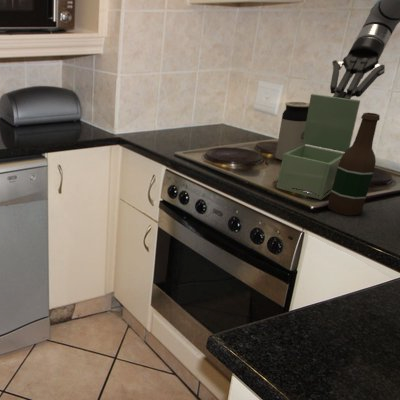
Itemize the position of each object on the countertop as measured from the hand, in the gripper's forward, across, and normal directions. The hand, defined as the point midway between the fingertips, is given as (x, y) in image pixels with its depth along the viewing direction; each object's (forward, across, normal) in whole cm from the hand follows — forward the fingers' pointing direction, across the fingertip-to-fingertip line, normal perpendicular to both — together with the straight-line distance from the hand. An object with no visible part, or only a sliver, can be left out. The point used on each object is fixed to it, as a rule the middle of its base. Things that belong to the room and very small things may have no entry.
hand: (333, 113), depth 129 cm
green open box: (+19, 0, -9) cm, 21 cm away
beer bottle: (+25, -12, -3) cm, 28 cm away
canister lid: (+3, 0, -1) cm, 3 cm away
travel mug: (+2, +14, -26) cm, 29 cm away
